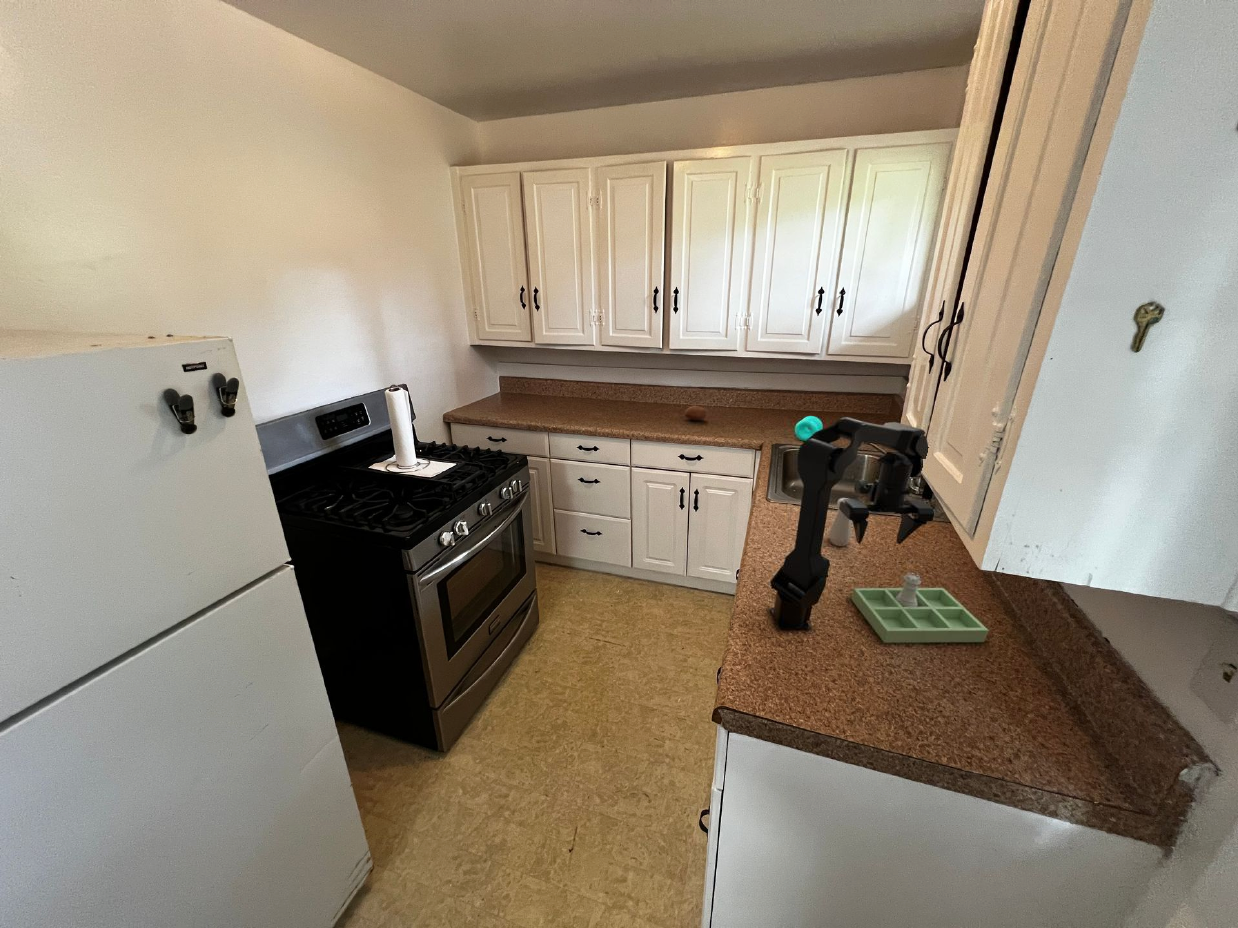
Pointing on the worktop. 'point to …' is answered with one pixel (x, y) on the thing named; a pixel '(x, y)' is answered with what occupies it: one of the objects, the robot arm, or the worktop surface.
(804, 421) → the cyan rounded blob
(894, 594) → the grid
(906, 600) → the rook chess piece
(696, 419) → the potato
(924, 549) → the worktop surface
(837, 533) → the salt shaker
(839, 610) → the worktop surface
